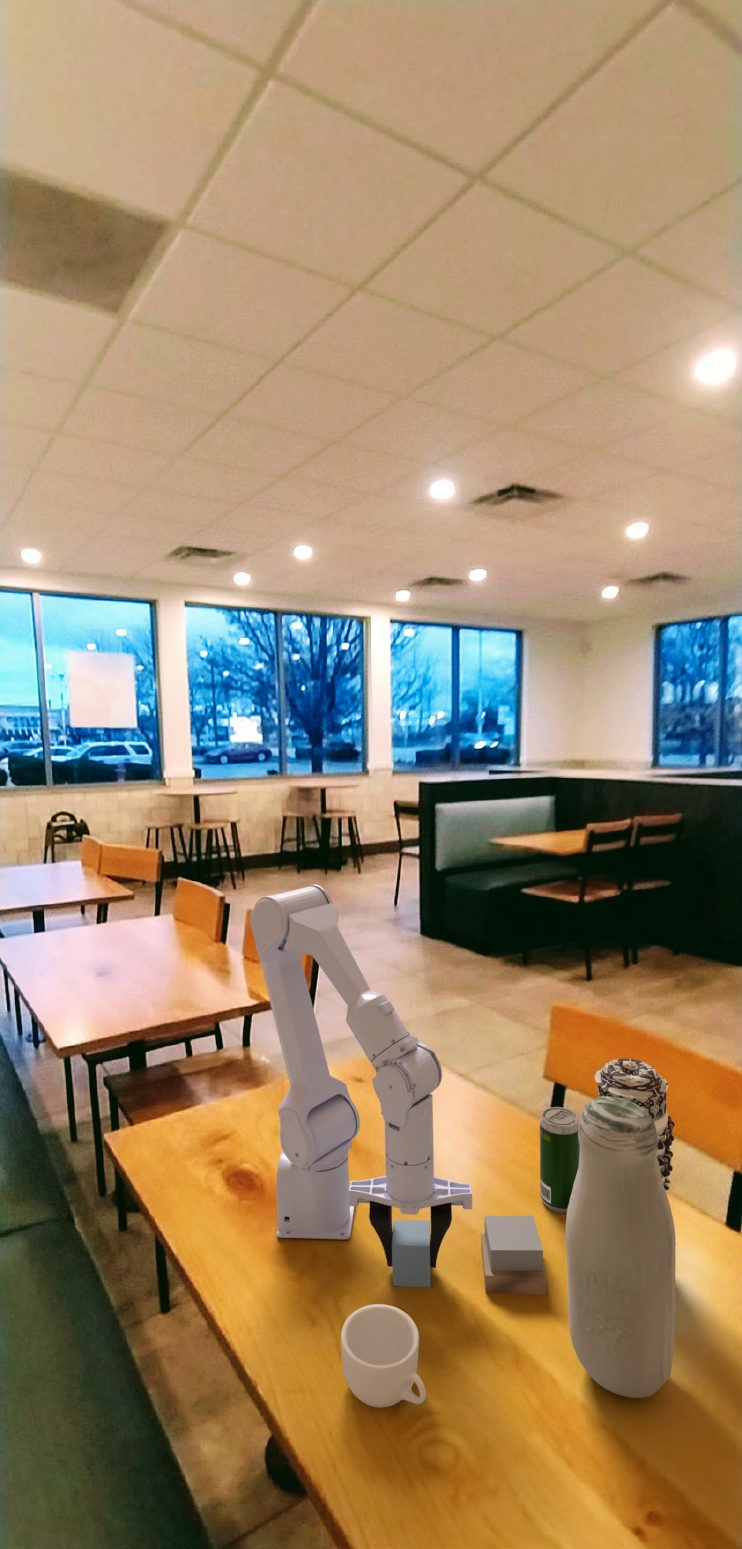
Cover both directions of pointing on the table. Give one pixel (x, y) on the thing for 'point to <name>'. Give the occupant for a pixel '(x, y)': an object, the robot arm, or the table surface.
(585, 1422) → the table surface
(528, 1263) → the grey middle block
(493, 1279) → the walnut base block
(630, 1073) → the decorative candle
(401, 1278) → the slate blue block
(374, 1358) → the teacup
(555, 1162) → the beer can
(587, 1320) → the glass bottle
